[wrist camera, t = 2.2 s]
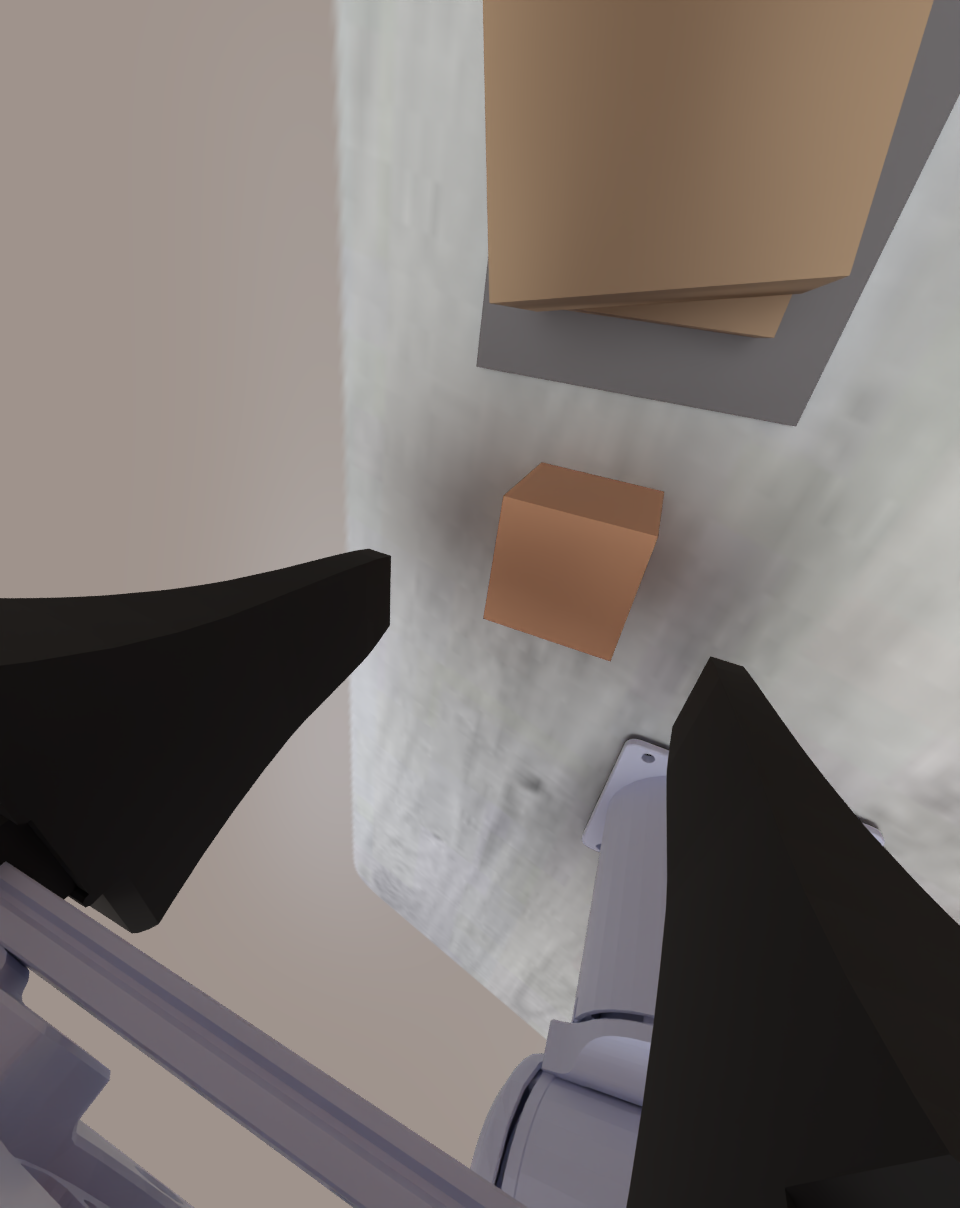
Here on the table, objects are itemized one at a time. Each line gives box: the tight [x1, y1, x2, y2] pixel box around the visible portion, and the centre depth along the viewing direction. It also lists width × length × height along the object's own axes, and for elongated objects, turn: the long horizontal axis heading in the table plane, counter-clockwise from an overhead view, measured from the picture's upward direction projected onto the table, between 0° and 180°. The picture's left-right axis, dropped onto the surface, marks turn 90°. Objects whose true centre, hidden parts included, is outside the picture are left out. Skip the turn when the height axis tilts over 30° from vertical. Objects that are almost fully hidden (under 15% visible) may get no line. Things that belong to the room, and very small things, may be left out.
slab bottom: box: [568, 294, 792, 338], centre depth 9 cm, size 6×6×3 cm
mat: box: [477, 0, 960, 426], centre depth 10 cm, size 9×9×1 cm
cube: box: [483, 462, 664, 661], centre depth 14 cm, size 4×4×4 cm
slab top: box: [483, 0, 934, 312], centre depth 7 cm, size 5×5×3 cm
